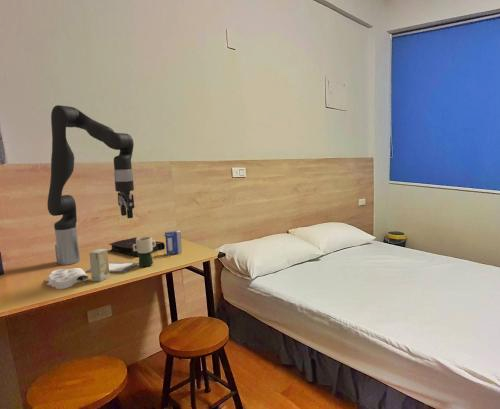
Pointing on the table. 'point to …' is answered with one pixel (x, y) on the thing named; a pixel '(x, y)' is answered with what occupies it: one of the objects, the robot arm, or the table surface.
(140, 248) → the character mug
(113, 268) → the notepad
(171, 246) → the walkman
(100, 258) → the skincare box
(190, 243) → the table surface
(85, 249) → the table surface
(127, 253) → the diary
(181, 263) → the table surface
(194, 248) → the table surface
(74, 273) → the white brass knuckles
